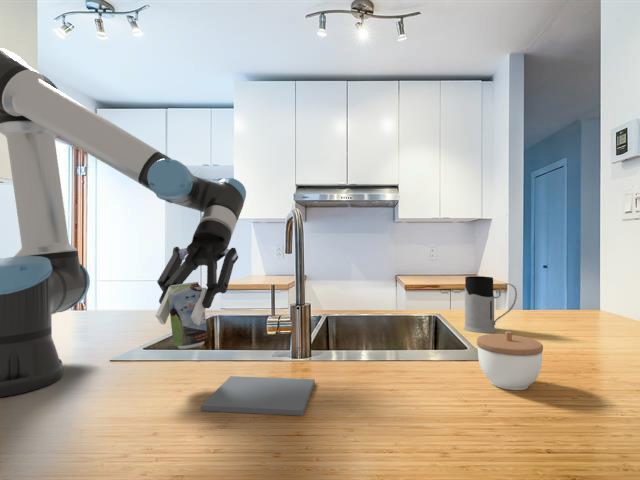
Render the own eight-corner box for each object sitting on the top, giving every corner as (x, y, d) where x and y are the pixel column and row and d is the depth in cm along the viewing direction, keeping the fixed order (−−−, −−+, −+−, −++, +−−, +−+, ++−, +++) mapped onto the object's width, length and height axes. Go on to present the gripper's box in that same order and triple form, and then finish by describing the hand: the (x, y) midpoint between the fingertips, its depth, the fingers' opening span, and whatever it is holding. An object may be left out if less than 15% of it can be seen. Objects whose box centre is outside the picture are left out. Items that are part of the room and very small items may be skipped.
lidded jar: (516, 400, 63) (516, 342, 63) (464, 379, 72) (464, 329, 72) (556, 388, 68) (556, 334, 68) (502, 370, 77) (502, 323, 77)
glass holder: (468, 324, 118) (467, 275, 118) (519, 330, 110) (519, 277, 110) (459, 330, 111) (459, 278, 111) (514, 337, 103) (513, 280, 103)
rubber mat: (200, 410, 60) (200, 405, 60) (230, 380, 73) (230, 376, 73) (302, 415, 58) (302, 410, 58) (314, 383, 71) (314, 379, 71)
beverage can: (197, 353, 68) (198, 284, 68) (159, 350, 69) (160, 283, 69) (214, 343, 74) (214, 280, 74) (178, 341, 75) (179, 279, 75)
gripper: (259, 243, 87) (233, 334, 70) (180, 242, 89) (136, 330, 73) (253, 218, 81) (222, 310, 65) (168, 218, 84) (119, 306, 68)
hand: (177, 320), depth 69 cm, fingers closed on beverage can, 6 cm apart
